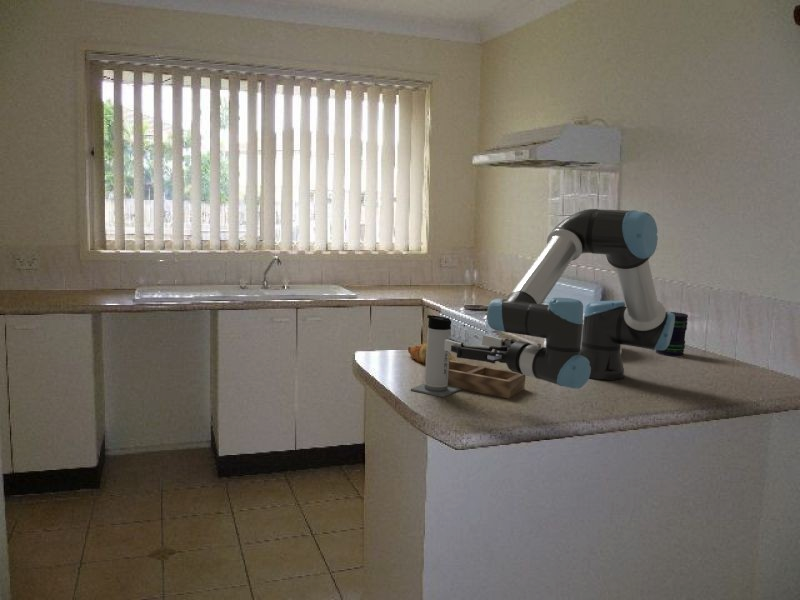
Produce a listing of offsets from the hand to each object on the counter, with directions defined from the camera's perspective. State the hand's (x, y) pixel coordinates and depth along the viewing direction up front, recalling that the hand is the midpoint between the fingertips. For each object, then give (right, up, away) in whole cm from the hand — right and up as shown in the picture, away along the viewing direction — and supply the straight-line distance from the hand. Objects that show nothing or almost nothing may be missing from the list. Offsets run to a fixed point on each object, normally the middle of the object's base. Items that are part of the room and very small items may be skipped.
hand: (464, 342), depth 181 cm
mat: (-7, -14, +9) cm, 18 cm away
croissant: (-7, -9, +43) cm, 44 cm away
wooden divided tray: (+4, -13, +17) cm, 22 cm away
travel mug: (-7, -13, +9) cm, 18 cm away
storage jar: (+83, -9, +78) cm, 114 cm away
